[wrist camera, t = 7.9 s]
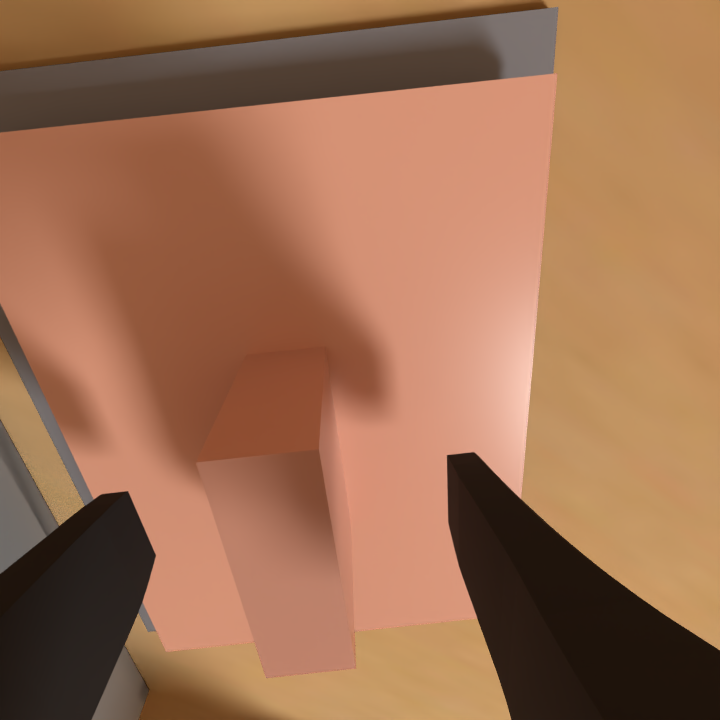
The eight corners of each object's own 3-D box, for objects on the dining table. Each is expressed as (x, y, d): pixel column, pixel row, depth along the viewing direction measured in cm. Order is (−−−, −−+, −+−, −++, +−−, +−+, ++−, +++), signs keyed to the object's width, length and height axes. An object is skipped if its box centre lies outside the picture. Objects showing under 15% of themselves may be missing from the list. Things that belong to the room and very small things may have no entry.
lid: (496, 576, 17) (567, 761, 12) (180, 609, 17) (110, 811, 12) (525, 85, 10) (735, 4, 5) (-17, 143, 10) (-415, 125, 5)
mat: (511, 584, 18) (513, 591, 17) (151, 624, 18) (148, 631, 17) (552, 11, 10) (558, 7, 9) (-113, 87, 10) (-127, 85, 9)
